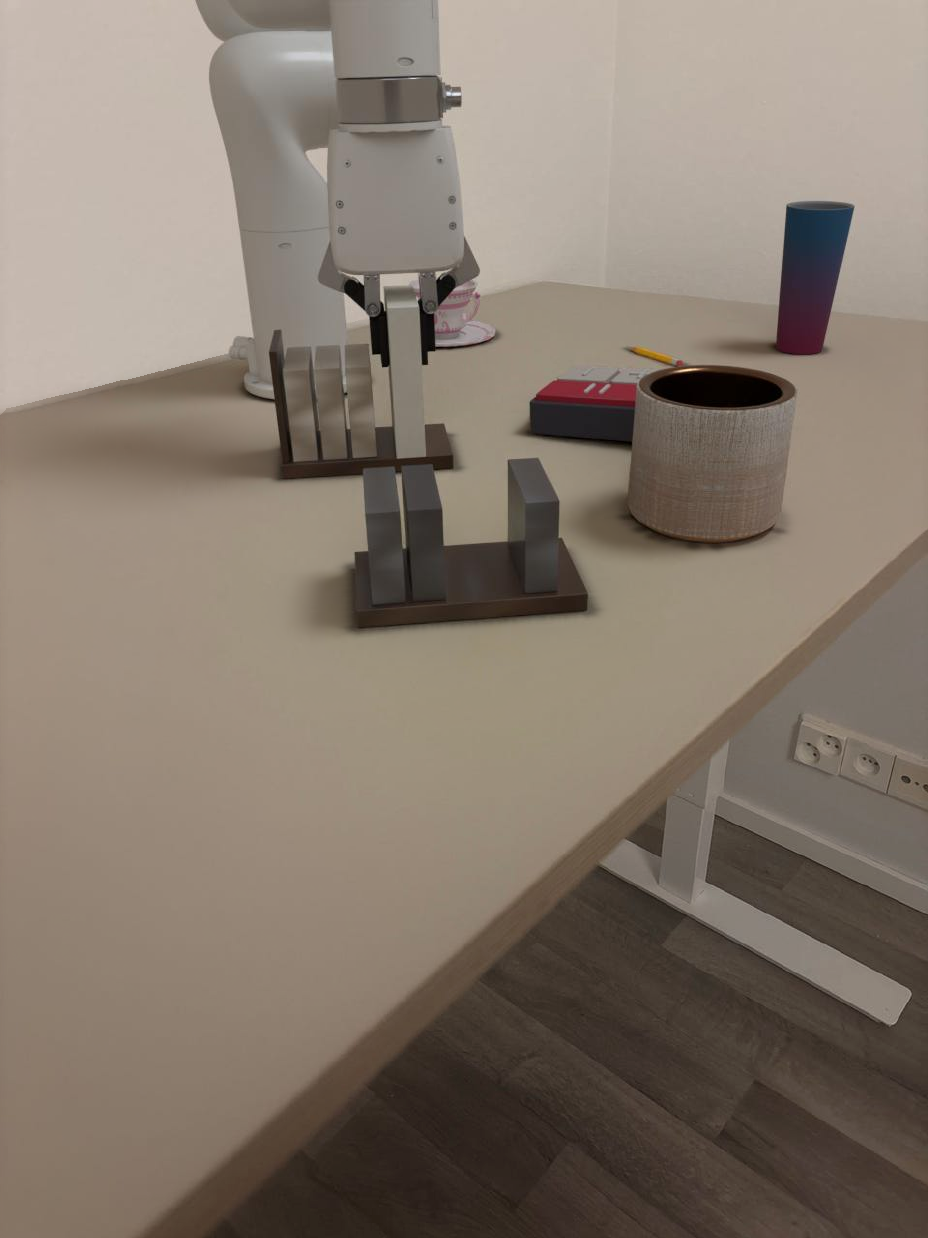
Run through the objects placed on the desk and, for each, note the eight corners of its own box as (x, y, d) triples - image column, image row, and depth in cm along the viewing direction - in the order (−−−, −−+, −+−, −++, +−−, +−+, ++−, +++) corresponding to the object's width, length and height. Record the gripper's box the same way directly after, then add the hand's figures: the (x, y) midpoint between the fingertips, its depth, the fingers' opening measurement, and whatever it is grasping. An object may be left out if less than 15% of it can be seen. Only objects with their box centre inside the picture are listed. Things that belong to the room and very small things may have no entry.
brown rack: (282, 478, 79) (266, 353, 74) (287, 445, 86) (273, 328, 80) (453, 468, 80) (449, 344, 75) (444, 435, 87) (440, 320, 82)
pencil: (677, 367, 104) (677, 361, 104) (625, 350, 110) (625, 344, 110) (682, 366, 104) (683, 360, 104) (630, 349, 111) (631, 343, 110)
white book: (396, 458, 79) (387, 307, 73) (392, 426, 86) (383, 286, 80) (426, 456, 79) (419, 306, 73) (419, 424, 86) (412, 284, 80)
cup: (837, 344, 110) (861, 202, 102) (821, 359, 105) (845, 210, 97) (777, 338, 113) (796, 199, 106) (759, 351, 108) (778, 207, 101)
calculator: (569, 360, 93) (726, 368, 87) (570, 404, 95) (724, 414, 89) (527, 393, 85) (698, 403, 79) (529, 440, 87) (695, 454, 81)
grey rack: (357, 628, 58) (347, 517, 54) (355, 567, 65) (346, 466, 61) (587, 610, 59) (592, 501, 55) (561, 552, 66) (564, 452, 62)
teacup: (377, 341, 116) (373, 288, 113) (432, 320, 125) (430, 270, 122) (462, 353, 110) (460, 297, 107) (513, 330, 119) (513, 278, 116)
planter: (596, 511, 72) (602, 383, 67) (694, 475, 77) (706, 355, 72) (710, 562, 64) (727, 422, 59) (810, 518, 70) (833, 387, 65)
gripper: (493, 101, 74) (495, 345, 83) (279, 108, 72) (306, 355, 81) (507, 104, 67) (508, 368, 76) (273, 112, 66) (303, 380, 75)
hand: (403, 359), depth 79 cm, fingers closed on white book, 2 cm apart
